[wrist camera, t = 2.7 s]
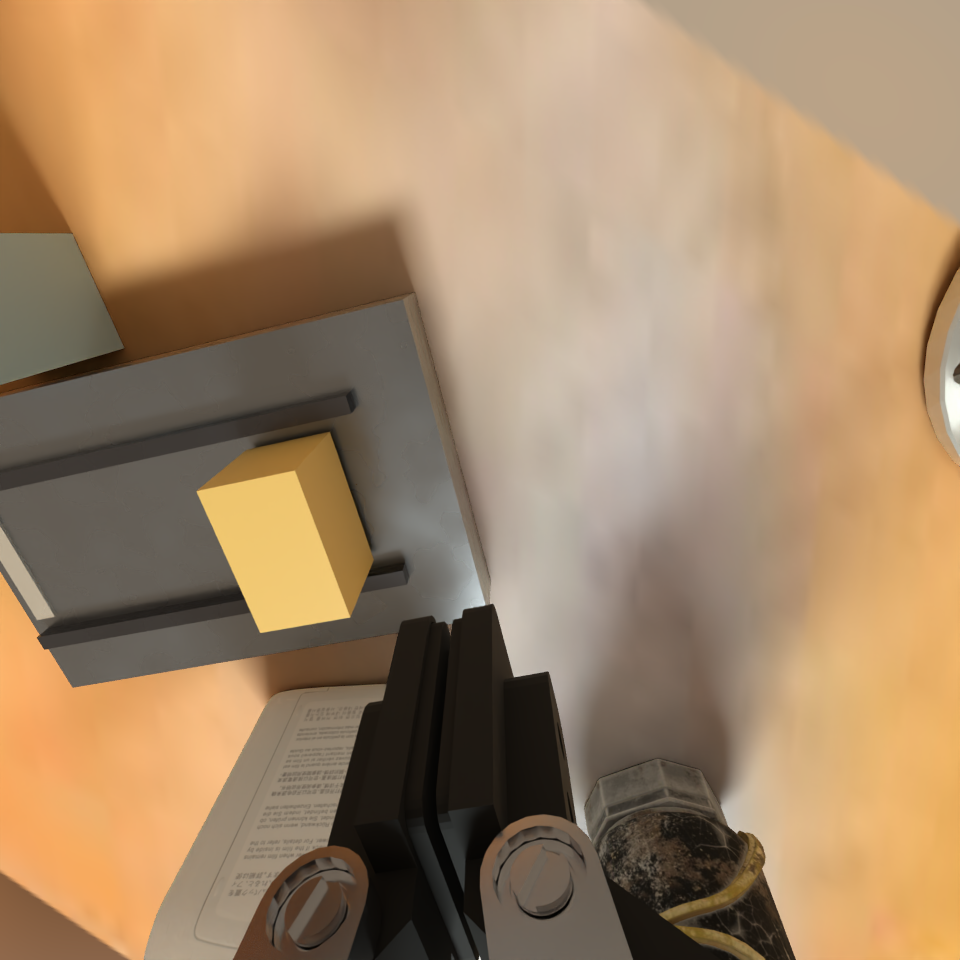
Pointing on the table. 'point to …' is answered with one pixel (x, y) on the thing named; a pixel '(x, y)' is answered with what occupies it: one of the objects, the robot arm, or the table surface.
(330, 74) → the table surface
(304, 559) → the block
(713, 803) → the lantern
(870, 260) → the table surface
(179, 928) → the photo printer
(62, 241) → the post
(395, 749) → the robot arm
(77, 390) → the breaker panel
